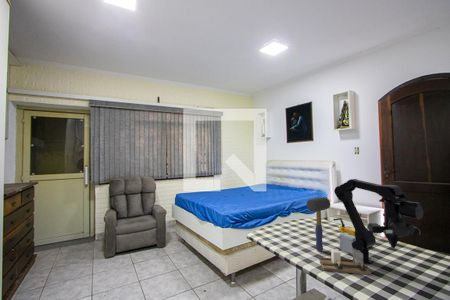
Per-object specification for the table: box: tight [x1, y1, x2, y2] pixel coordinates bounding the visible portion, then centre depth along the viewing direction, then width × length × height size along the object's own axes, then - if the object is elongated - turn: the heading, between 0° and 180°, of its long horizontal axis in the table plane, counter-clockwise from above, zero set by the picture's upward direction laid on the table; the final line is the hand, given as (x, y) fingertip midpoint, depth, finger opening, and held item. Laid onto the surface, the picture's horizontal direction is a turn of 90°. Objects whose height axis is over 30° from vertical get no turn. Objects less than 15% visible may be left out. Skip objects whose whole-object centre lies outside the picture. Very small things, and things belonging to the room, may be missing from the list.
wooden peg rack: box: [318, 250, 372, 275], centre depth 104 cm, size 9×20×7 cm, turn 80°
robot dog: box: [333, 217, 355, 236], centre depth 134 cm, size 6×18×13 cm, turn 29°
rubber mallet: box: [306, 196, 331, 252], centre depth 122 cm, size 12×8×30 cm, turn 116°
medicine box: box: [339, 232, 356, 255], centre depth 121 cm, size 8×4×9 cm, turn 27°
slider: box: [330, 248, 341, 267], centre depth 105 cm, size 7×3×6 cm, turn 170°
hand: (393, 247), depth 98 cm, fingers closed
